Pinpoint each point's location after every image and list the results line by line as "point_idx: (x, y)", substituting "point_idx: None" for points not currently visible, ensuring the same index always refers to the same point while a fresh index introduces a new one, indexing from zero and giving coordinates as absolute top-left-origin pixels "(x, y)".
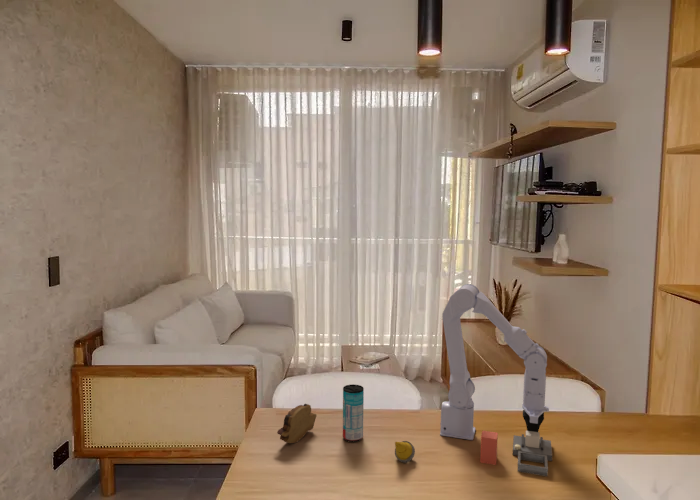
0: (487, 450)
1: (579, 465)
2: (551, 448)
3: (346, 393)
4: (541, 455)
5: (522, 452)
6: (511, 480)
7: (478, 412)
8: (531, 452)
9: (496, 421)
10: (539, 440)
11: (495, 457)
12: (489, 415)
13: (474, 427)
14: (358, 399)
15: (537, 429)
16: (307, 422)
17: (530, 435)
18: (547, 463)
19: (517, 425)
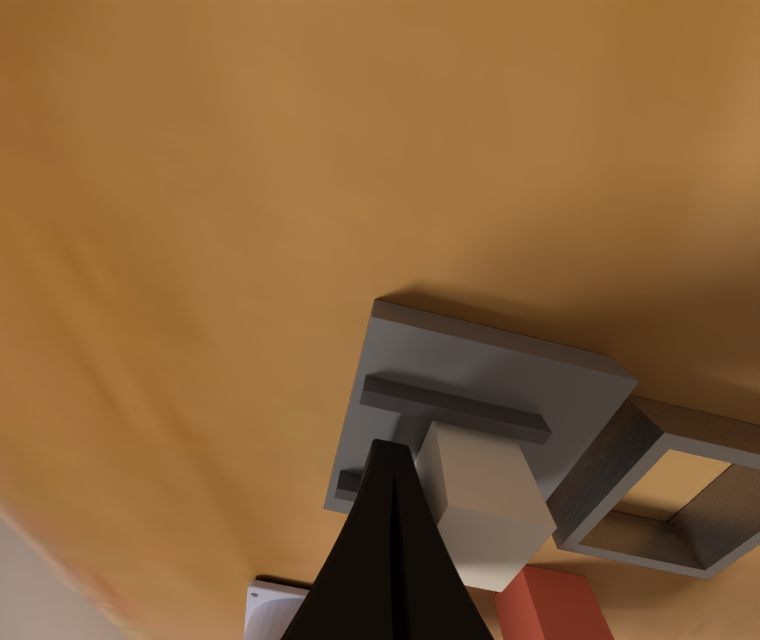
0: None
1: (743, 153)
2: (516, 352)
3: None
4: (651, 462)
5: (581, 537)
6: (735, 561)
7: (50, 537)
8: (560, 482)
9: (116, 496)
10: (539, 493)
11: (605, 625)
12: (56, 508)
13: (249, 588)
14: None
15: (437, 544)
16: None
17: (512, 572)
18: None
19: (112, 418)
